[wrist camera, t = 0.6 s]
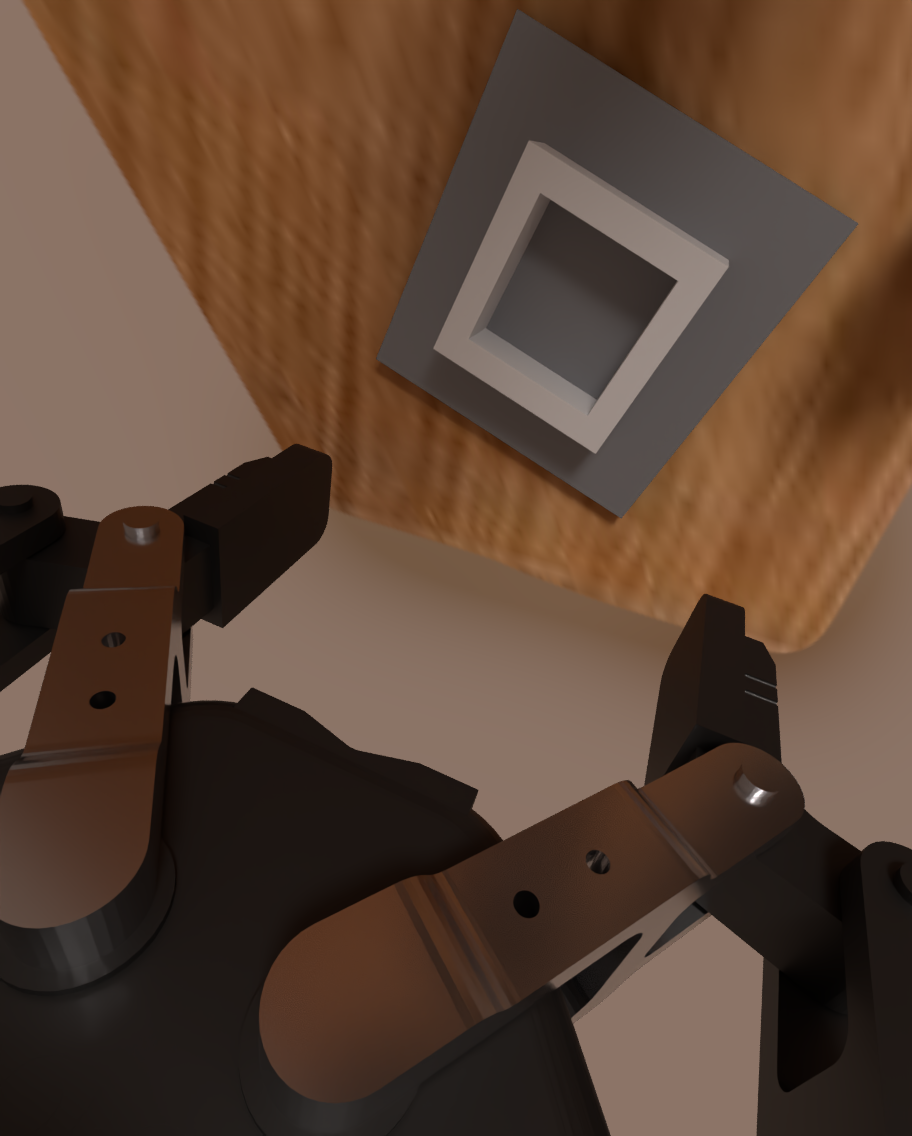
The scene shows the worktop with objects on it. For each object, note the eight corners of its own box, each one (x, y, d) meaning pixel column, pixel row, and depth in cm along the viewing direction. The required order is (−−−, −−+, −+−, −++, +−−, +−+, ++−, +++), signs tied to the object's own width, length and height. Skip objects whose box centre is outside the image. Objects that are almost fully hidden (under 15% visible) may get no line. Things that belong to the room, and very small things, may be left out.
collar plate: (523, 13, 29) (497, -7, 26) (854, 222, 29) (870, 227, 26) (383, 355, 40) (353, 370, 37) (623, 511, 40) (614, 540, 37)
